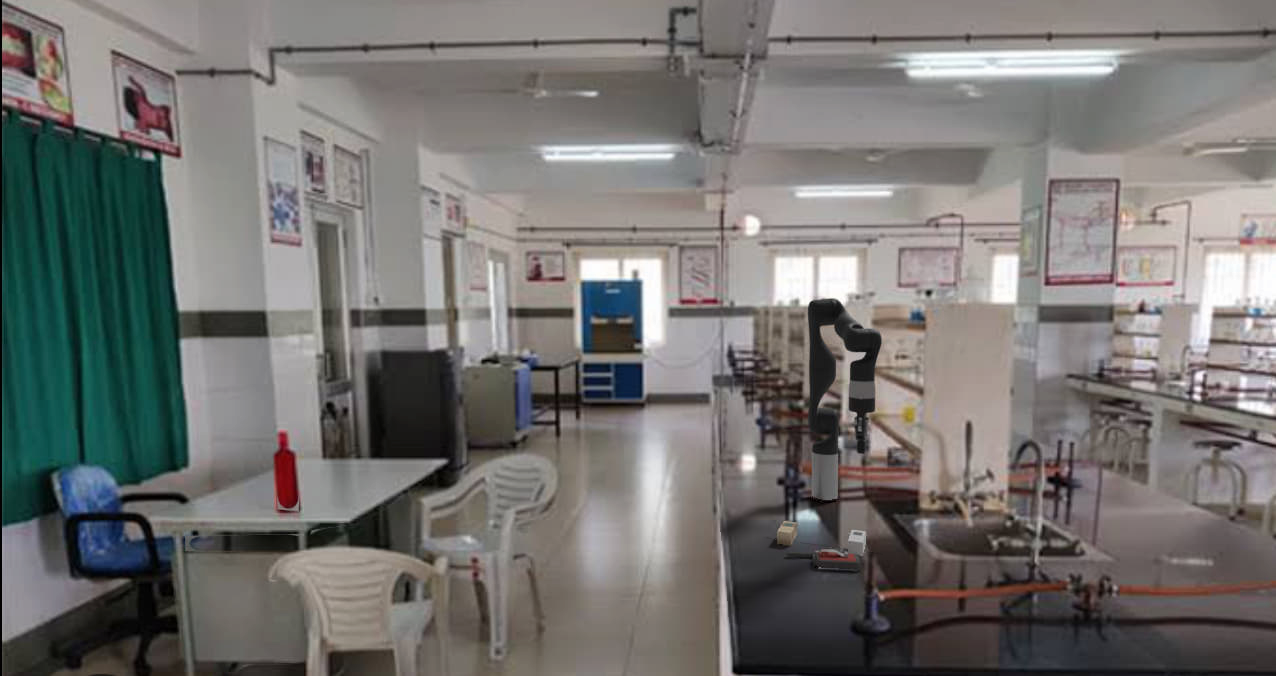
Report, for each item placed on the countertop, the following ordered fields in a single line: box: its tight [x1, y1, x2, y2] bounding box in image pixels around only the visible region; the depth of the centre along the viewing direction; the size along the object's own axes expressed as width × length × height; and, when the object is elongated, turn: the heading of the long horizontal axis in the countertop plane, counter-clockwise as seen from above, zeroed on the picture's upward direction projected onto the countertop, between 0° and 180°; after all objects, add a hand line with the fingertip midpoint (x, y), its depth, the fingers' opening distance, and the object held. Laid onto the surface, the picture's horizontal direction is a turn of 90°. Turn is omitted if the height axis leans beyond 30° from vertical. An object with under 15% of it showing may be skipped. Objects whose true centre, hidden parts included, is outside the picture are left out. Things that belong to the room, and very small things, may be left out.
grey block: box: [847, 529, 867, 557], centre depth 188 cm, size 4×4×10 cm
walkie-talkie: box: [786, 548, 862, 570], centre depth 179 cm, size 9×4×20 cm
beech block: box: [776, 520, 798, 546], centre depth 197 cm, size 4×4×10 cm
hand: (861, 453), depth 195 cm, fingers closed
